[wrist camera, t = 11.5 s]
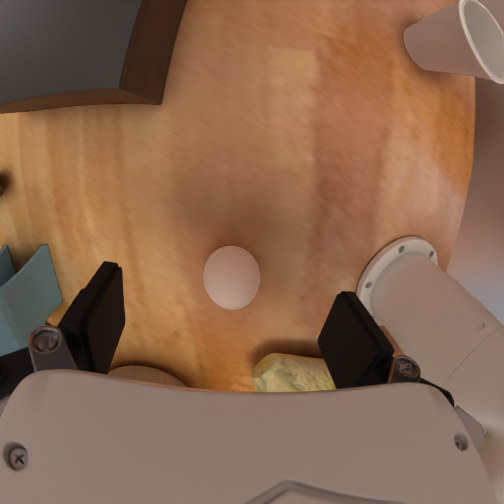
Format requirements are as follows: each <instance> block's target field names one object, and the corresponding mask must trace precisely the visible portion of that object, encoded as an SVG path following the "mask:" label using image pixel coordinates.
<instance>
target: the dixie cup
mask: <svg viewBox="0 0 504 504" xmlns="http://www.w3.org/2000/svg"><path fill="white" fill-rule="evenodd" d="M403 39H404V45H405V48H406V50H407V52H408V54H409V56H410V57H411V59H412V60H413V61H414V62H415V63H416V64H417V65H418V66H419V67H420V68H422V69H424V70H427V71H436V72H446V73H455V74H462V75H469V76H475V77H481V78H486V79H491V80H493V81H495V82H496V83H499V84H504V34H503V32H502V30H501V28H500V26H499V25H498V23H497V21H496V20H495V18H494V17H493V16H492V14H491V13H490V12H489V11H488V10H487V9H486V8H485V7H484V6H483V5H482V4H481V3H479V2H478V1H477V0H460V1H459V2H457V3H455V4H453V5H450V6H448V7H446V8H444V9H442V10H440V11H438V12H436V13H434V14H432V15H430V16H428V17H426V18H424V19H422V20H420V21H418V22H416V23H415V24H413V25H411V26H409V27H407V28H406V30H405V31H404V36H403Z"/></svg>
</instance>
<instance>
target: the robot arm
mask: <svg viewBox="0 0 504 504" xmlns="http://www.w3.org/2000/svg"><path fill="white" fill-rule="evenodd" d="M124 326H125V310H124V296H123V277H122V268H121V267H118V264H117V263H114V262H107V261H104V262H103V264H102V265H101V266H100V268H99V269H98V270H97V272H96V273H95V275H94V276H93V277H92V279H91V280H90V282H89V283H88V285H87V286H86V288H85V289H81V291H80V292H79V293H78V295H77V296H76V298H75V299H74V301H73V302H72V304H71V305H70V307H69V308H68V310H67V311H66V313H65V314H64V316H63V318H62V319H61V321H60V322H59V324H58V326H57V327H54V326H41V327H39V328H37V329H35V330H34V331H33V332H32V333H31V334H30V336H29V338H28V347H25V348H22V349H20V350H17V351H14V352H11V353H8V354H6V355H3V356H0V504H504V326H503V324H501V322H499V320H497V318H496V317H495V316H494V315H492V314H491V313H490V312H489V311H488V310H487V309H486V308H485V307H484V306H483V305H482V304H481V303H480V302H479V301H478V300H476V298H475V297H473V296H472V295H471V294H470V293H469V292H468V291H467V290H466V289H465V288H463V287H462V286H461V285H460V284H459V283H458V282H457V281H455V280H454V279H453V278H452V277H451V276H449V275H448V274H447V273H446V272H445V271H443V270H442V269H441V268H440V267H439V266H438V257H437V254H436V251H435V249H434V248H433V246H432V245H431V244H430V243H428V242H427V241H426V240H424V239H422V238H420V237H416V236H409V237H404V238H400V239H398V240H396V241H394V242H392V243H390V244H389V245H387V246H386V247H385V248H383V249H382V250H381V251H380V252H379V253H378V254H377V255H376V256H375V257H374V258H373V259H372V261H371V262H370V263H369V264H368V266H367V268H366V269H365V271H364V272H363V274H362V277H361V279H360V281H359V284H358V288H357V291H356V294H355V293H354V292H348V291H342V292H341V293H340V294H338V295H337V296H336V298H335V301H334V303H333V305H332V308H331V310H330V312H329V315H328V317H327V319H326V322H325V324H324V326H323V328H322V330H321V333H320V335H319V337H318V346H319V349H320V351H321V353H322V356H323V358H324V361H325V363H326V365H327V368H328V370H329V373H330V375H331V378H332V380H333V383H334V385H335V387H336V389H332V390H318V391H296V392H245V391H224V390H209V389H198V388H188V387H179V386H171V385H164V384H157V383H150V382H143V381H137V380H131V379H126V378H120V377H115V376H110V375H107V374H108V371H109V368H110V365H111V362H112V359H113V356H114V353H115V351H116V348H117V345H118V342H119V339H120V337H121V334H122V331H123V328H124ZM379 326H385V328H386V329H387V330H388V332H389V333H390V335H391V336H392V337H393V339H394V340H395V342H396V343H397V344H398V346H399V347H400V349H401V350H402V352H403V353H404V354H405V355H397V356H396V357H394V358H393V356H392V355H393V353H394V352H395V350H394V348H393V347H392V345H391V344H390V342H389V341H388V339H387V338H386V336H385V335H384V333H383V332H382V330H381V329H380V327H379ZM483 428H484V429H486V430H487V433H486V434H485V435H484V430H483Z"/></svg>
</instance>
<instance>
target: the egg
mask: <svg viewBox="0 0 504 504" xmlns="http://www.w3.org/2000/svg"><path fill="white" fill-rule="evenodd" d="M203 283H204V287H205V290H206V292H207V293H208V295H209V297H210V298H211V299H212V300H213V301H214V302H215V303H216V304H217V305H219V306H221V307H223V308H225V309H229V310H237V309H241V308H243V307H245V306H246V305H248V304H249V303H250V302H251V301H252V300H253V299H254V297H255V295H256V293H257V291H258V289H259V286H260V271H259V267H258V264H257V262H256V261H255V259H254V257H253V256H252V255H251V254H250V253H249V252H248V251H246V250H245V249H243V248H241V247H237V246H224V247H221V248H219V249H217V250H216V251H214V252H213V253H212V254H211V255H210V256H209V258H208V259H207V261H206V263H205V265H204V269H203Z"/></svg>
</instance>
